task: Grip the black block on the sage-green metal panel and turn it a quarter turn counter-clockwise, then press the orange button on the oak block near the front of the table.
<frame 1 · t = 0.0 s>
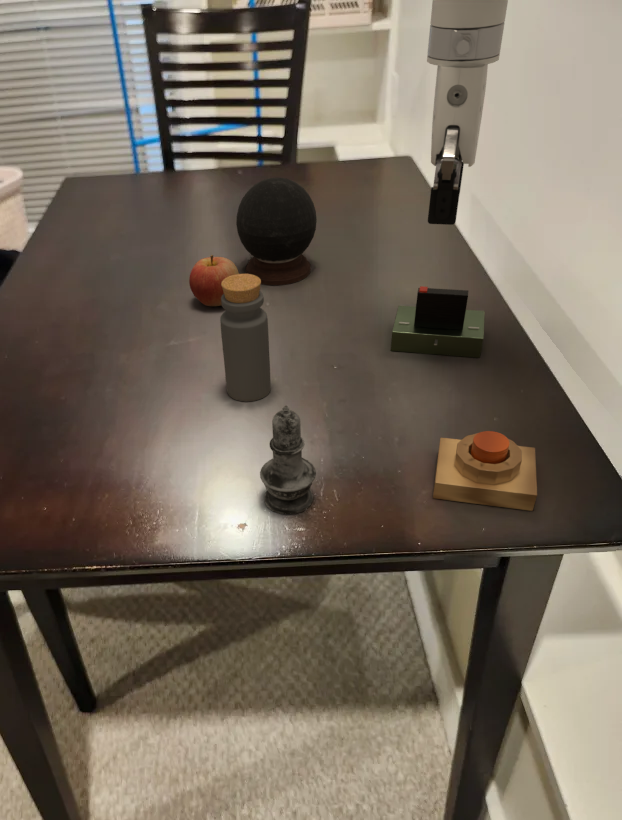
hand: (444, 208, 85), 19 cm above the table, tool pointing down, fingers open, 9 cm apart
clamp panel: (436, 340, 98), on the table
button block: (482, 480, 75), on the table
black block: (440, 308, 93), point 6 cm above the table, hinge at 0.0°
bottle: (249, 391, 91), on the table
black ball on stand: (278, 272, 119), on the table
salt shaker: (288, 499, 75), on the table
button: (489, 447, 72), point 4 cm above the table, slide at 0.1 cm
apple: (217, 303, 111), on the table
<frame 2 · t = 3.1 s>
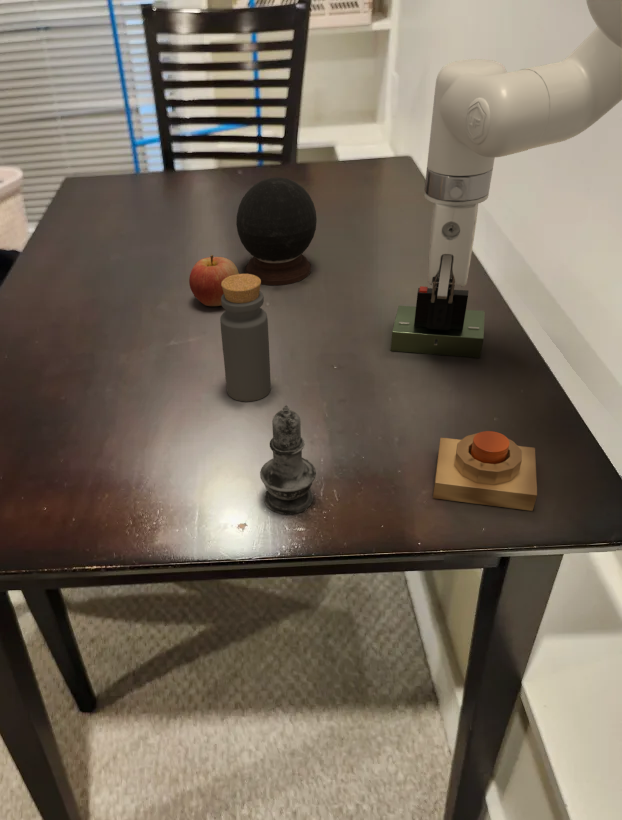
hand: (438, 323, 94), 3 cm above the table, tool pointing down, fingers closed on black block
black block: (440, 308, 93), point 6 cm above the table, hinge at 0.1°, touching gripper
everything else where it was.
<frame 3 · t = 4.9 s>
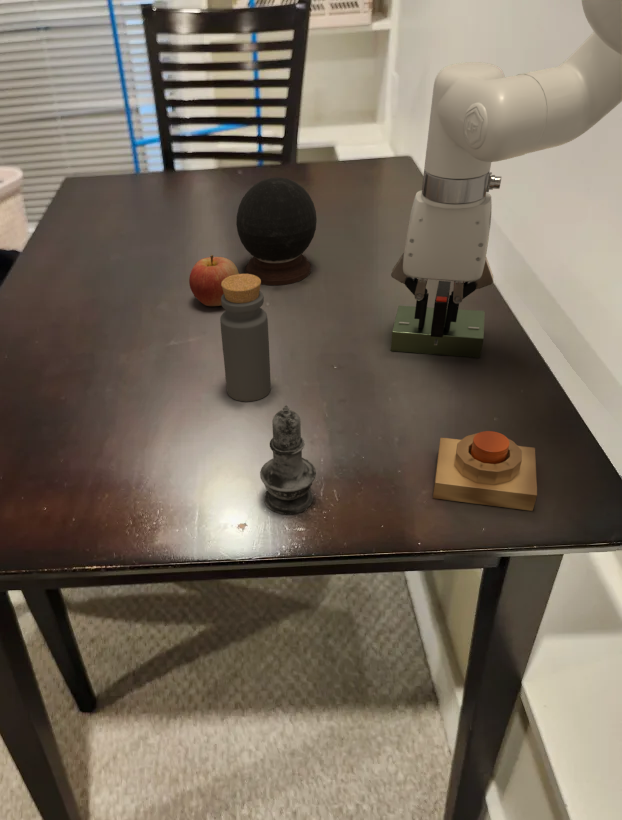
hand: (434, 323, 95), 3 cm above the table, tool pointing down, fingers closed
black block: (440, 308, 93), point 6 cm above the table, hinge at 89.2°
everything else where it was.
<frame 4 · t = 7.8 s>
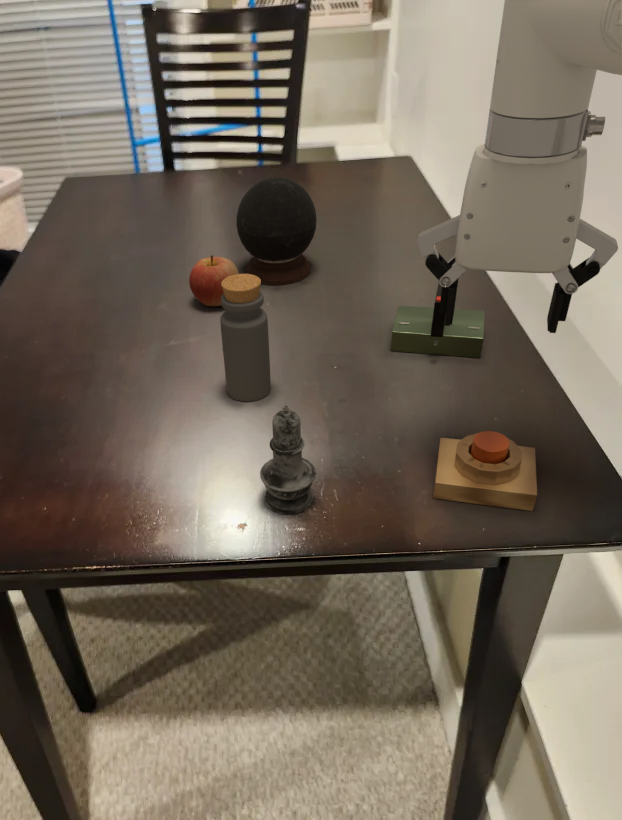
hand: (499, 323, 68), 16 cm above the table, tool pointing down, fingers open, 9 cm apart
nothing on the table moved.
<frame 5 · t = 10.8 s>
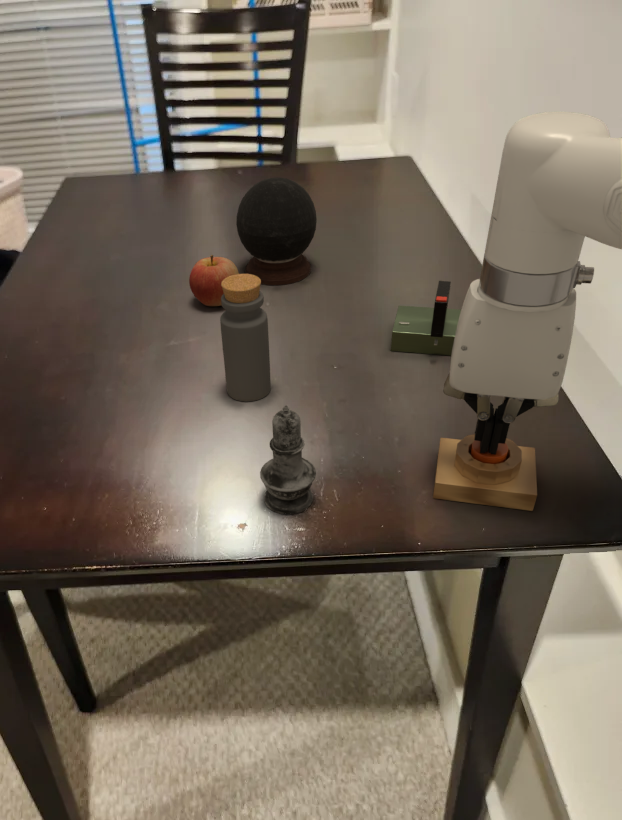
hand: (488, 445, 72), 5 cm above the table, tool pointing down, fingers closed
button: (488, 453, 72), point 4 cm above the table, slide at -0.6 cm, touching gripper
everything else where it was.
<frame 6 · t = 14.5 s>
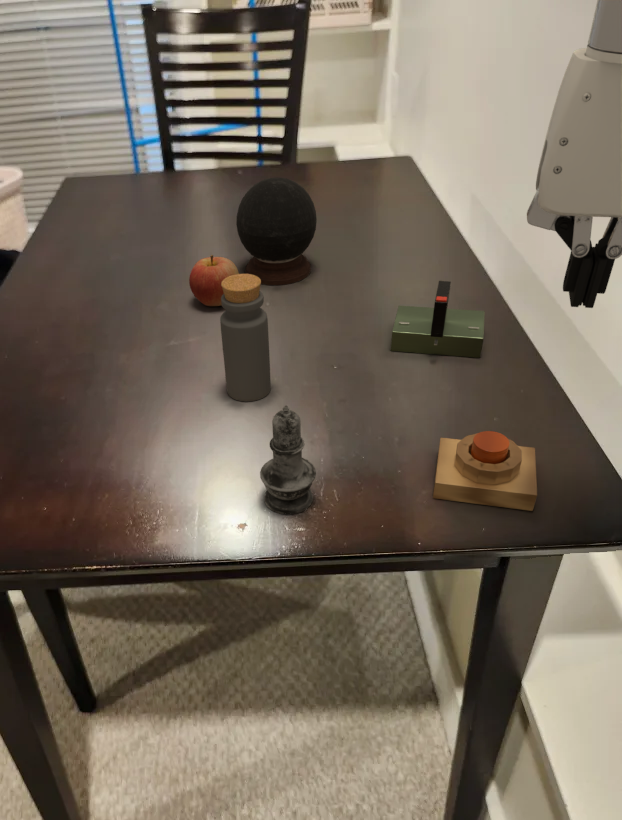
hand: (580, 299, 55), 23 cm above the table, tool pointing down, fingers closed
button: (489, 447, 72), point 4 cm above the table, slide at 0.1 cm
everything else where it was.
at the end: black block at +89° (first picture: +0°); button pushed in 1.1 cm at the most during the clip, back to where it started at the end; button slide at 0.1 cm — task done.
